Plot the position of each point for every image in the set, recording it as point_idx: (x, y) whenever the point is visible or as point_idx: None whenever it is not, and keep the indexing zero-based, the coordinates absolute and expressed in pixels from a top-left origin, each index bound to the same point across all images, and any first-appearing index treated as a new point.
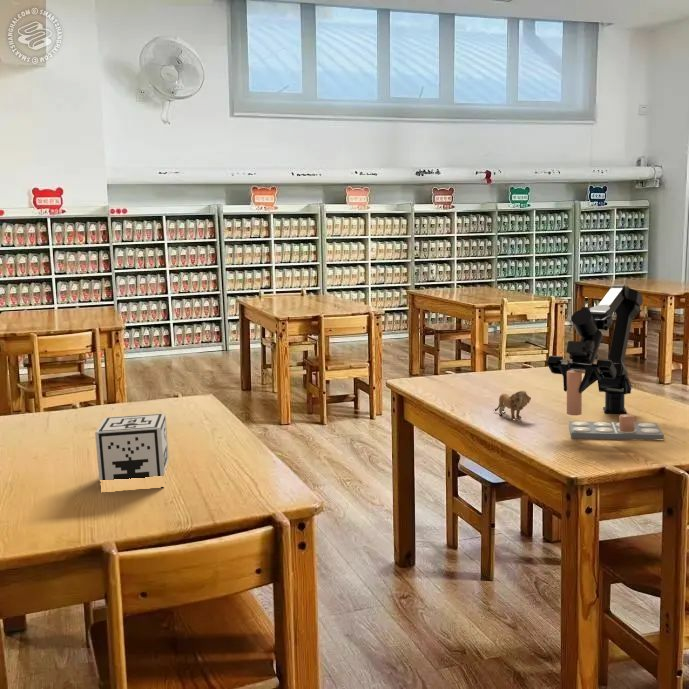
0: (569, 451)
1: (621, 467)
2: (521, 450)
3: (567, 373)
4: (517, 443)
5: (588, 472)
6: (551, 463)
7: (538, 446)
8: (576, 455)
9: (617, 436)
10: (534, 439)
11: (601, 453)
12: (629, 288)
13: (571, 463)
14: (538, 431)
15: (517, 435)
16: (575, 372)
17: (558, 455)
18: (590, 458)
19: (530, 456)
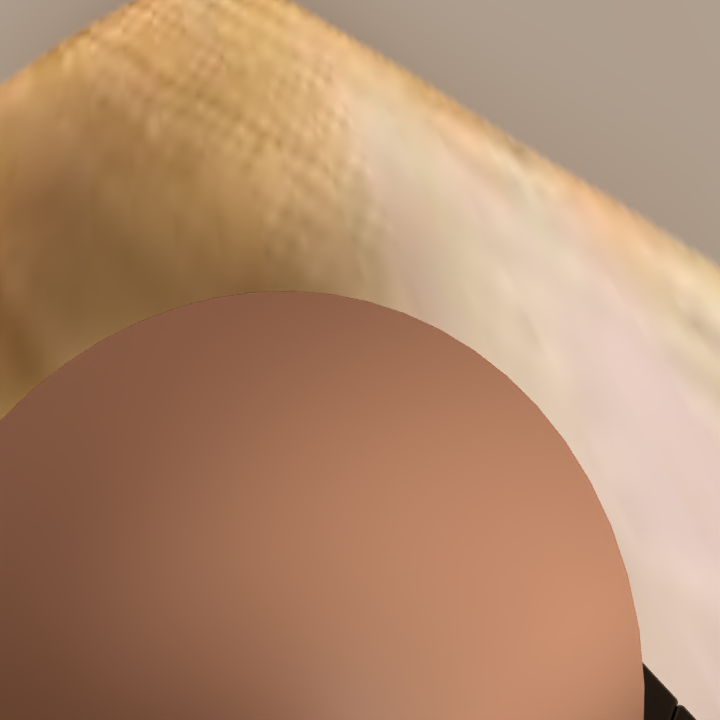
0: (292, 224)
1: (31, 100)
2: (529, 160)
3: (511, 416)
4: (612, 260)
5: (164, 17)
6: (328, 55)
7: (478, 248)
8: (245, 179)
9: None
10: (563, 373)
11: (123, 248)
12: None
13: (247, 79)
14: (642, 599)
15: (715, 424)
16: (176, 422)
17: (329, 152)
18: (172, 161)
19: (448, 100)
